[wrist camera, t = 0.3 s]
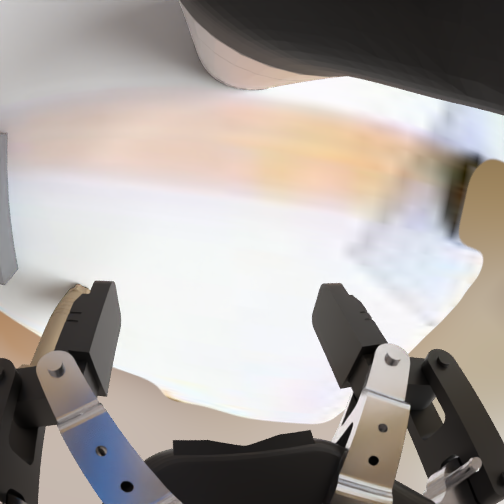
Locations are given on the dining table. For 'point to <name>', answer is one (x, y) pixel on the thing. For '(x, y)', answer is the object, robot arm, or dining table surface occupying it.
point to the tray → (5, 220)
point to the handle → (56, 324)
